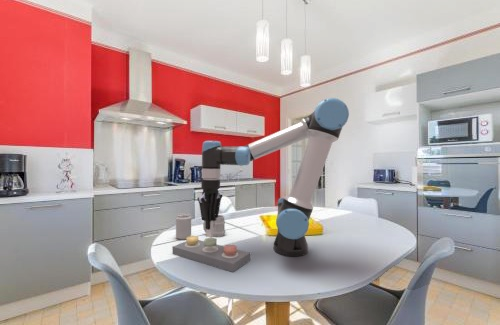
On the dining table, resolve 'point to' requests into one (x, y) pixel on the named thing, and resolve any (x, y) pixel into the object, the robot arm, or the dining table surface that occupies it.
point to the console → (212, 255)
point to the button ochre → (192, 240)
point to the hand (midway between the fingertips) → (209, 236)
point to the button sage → (210, 242)
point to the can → (183, 226)
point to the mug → (217, 226)
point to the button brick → (230, 249)
